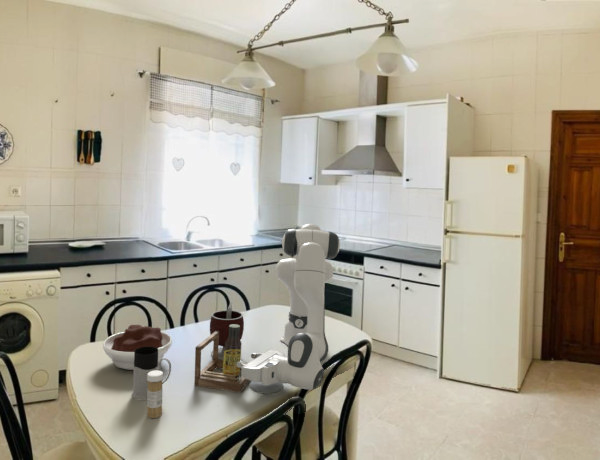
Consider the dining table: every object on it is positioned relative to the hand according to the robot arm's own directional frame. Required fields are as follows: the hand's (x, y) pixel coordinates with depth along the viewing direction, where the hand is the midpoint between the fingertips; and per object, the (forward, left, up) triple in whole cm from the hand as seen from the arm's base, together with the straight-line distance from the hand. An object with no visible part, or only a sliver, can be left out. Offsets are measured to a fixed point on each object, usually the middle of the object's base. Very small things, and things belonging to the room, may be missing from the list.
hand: (245, 359), depth 165 cm
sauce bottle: (-1, -6, -9) cm, 10 cm away
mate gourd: (-22, -16, -9) cm, 29 cm away
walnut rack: (0, -7, -8) cm, 11 cm away
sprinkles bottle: (+31, -19, -9) cm, 37 cm away
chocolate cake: (-1, -44, -9) cm, 44 cm away
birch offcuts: (+5, -7, -8) cm, 12 cm away
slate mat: (+1, +8, -8) cm, 12 cm away
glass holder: (+20, -26, -9) cm, 33 cm away
